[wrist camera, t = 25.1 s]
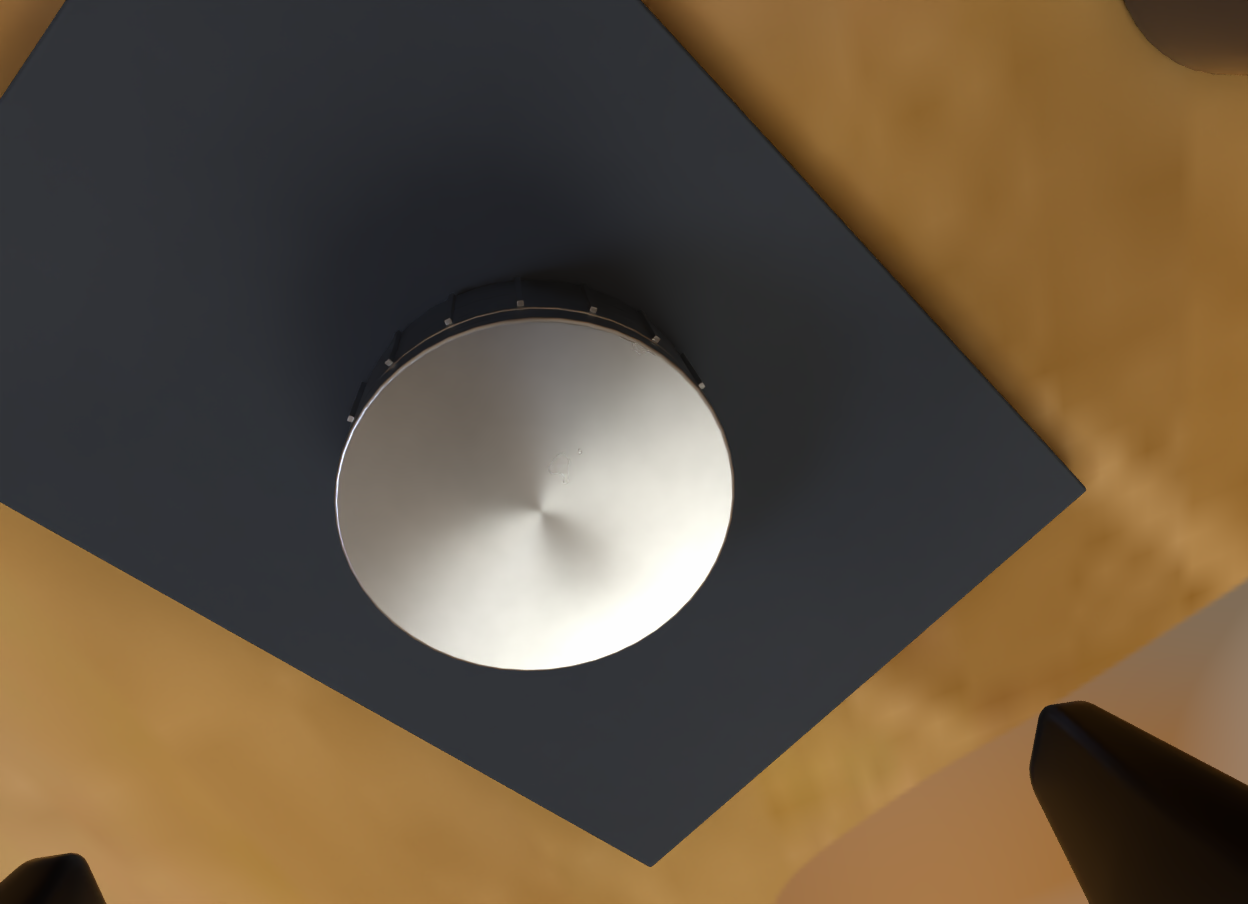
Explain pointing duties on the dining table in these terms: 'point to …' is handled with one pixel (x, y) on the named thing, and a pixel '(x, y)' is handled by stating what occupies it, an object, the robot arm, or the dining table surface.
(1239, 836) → the robot arm
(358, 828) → the dining table surface
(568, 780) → the slate mat
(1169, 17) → the dark brown cylinder
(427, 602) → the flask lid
